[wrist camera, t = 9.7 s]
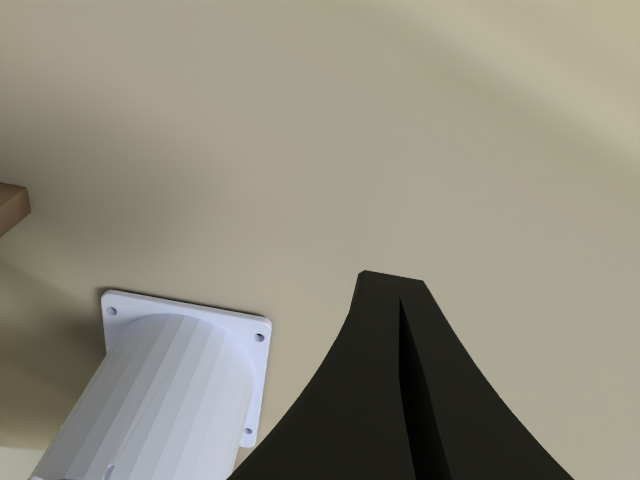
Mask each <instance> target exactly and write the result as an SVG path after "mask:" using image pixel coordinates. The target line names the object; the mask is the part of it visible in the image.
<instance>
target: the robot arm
mask: <svg viewBox="0 0 640 480" xmlns="http://www.w3.org/2000/svg"><path fill="white" fill-rule="evenodd" d="M101 307H102V317H103V326H104V335H105V345H106V354H107V355H106V356H105V358H104V359H103V361H102V362H101V364H100V366H99V367H98V369H97V370H96V372H95V374H94V375H93V377H92V378H91V380H90V382H89V383H88V385H87V386H86V388H85V389H84V391H83V393H82V394H81V396H80V397H79V399H78V401H77V402H76V404H75V405H74V407H73V409H72V410H71V412H70V413H69V415H68V417H67V418H66V420H65V421H64V423H63V424H62V426H61V428H60V429H59V431H58V432H57V434H56V436H55V437H54V439H53V440H52V442H51V444H50V445H49V447H48V448H47V450H46V451H45V453H44V455H43V456H42V458H41V460H40V461H39V463H38V464H37V466H36V467H35V469H34V471H33V472H32V474H31V475H30V477H29V479H28V480H574V479H573V478H572V477H571V476H570V475H569V474H568V473H567V472H566V471H565V470H564V469H563V468H562V467H561V466H560V465H559V464H558V463H557V462H556V461H555V460H554V459H553V458H552V456H551V455H550V454H549V453H548V452H547V451H546V450H545V449H544V448H543V447H542V446H541V445H540V444H539V443H538V441H537V440H536V439H535V438H534V437H533V436H532V435H531V433H530V432H529V431H528V430H527V429H526V428H525V427H524V425H523V424H522V423H521V422H520V421H519V420H518V419H517V417H516V416H515V415H514V414H513V413H512V412H511V410H510V409H509V408H508V407H507V405H506V404H505V403H504V402H503V400H502V399H501V398H500V397H499V395H498V394H497V393H496V391H495V390H494V389H493V387H492V386H491V385H490V383H489V382H488V381H487V379H486V378H485V377H484V375H483V374H482V373H481V371H480V370H479V368H478V367H477V366H476V364H475V363H474V361H473V360H472V358H471V357H470V355H469V354H468V352H467V351H466V349H465V348H464V346H463V345H462V343H461V342H460V340H459V339H458V337H457V336H456V334H455V332H454V331H453V329H452V328H451V326H450V324H449V323H448V321H447V319H446V318H445V316H444V315H443V313H442V311H441V309H440V308H439V306H438V304H437V303H436V301H435V299H434V298H433V296H432V294H431V293H430V291H429V289H428V288H427V286H426V284H425V283H424V281H422V280H417V279H411V278H406V277H400V276H395V275H389V274H384V273H378V272H373V271H367V270H364V271H363V272H361V273H359V274H358V278H357V282H356V286H355V290H354V294H353V298H352V302H351V306H350V310H349V313H348V315H347V318H346V320H345V322H344V324H343V326H342V328H341V330H340V332H339V334H338V336H337V338H336V340H335V341H334V343H333V345H332V347H331V348H330V350H329V352H328V354H327V355H326V357H325V359H324V360H323V362H322V364H321V365H320V367H319V368H318V370H317V371H316V373H315V374H314V376H313V377H312V379H311V380H310V382H309V383H308V385H307V386H306V387H305V389H304V390H303V392H302V393H301V394H300V396H299V397H298V398H297V400H296V401H295V402H294V404H293V405H292V406H291V407H290V409H289V410H288V411H287V412H286V414H285V415H284V416H283V417H282V419H281V420H280V421H279V422H278V424H277V425H276V426H275V427H274V428H273V430H272V431H271V432H270V433H269V434H268V435H267V437H266V438H265V439H264V440H263V441H262V442H261V443H260V444H259V445H258V446H257V447H256V448H255V450H254V451H253V452H252V453H251V454H250V455H249V456H248V457H247V458H246V459H245V460H244V461H243V462H242V463H241V465H240V466H239V467H238V468H237V469H236V470H235V471H234V472H233V473H232V471H233V467H234V463H235V460H236V456H237V452H238V448H239V446H241V447H248V448H249V447H253V446H254V445H255V443H256V438H257V431H258V424H259V417H260V410H261V402H262V395H263V388H264V381H265V373H266V366H267V359H268V352H269V345H270V337H271V330H272V323H271V322H270V320H268V319H267V318H264V317H260V316H255V315H249V314H244V313H238V312H233V311H227V310H222V309H216V308H211V307H205V306H200V305H194V304H188V303H183V302H177V301H172V300H166V299H161V298H155V297H150V296H144V295H139V294H133V293H128V292H122V291H117V290H108V291H106V292H105V293H104V294H103V296H102V297H101ZM111 307H113V308H115V309H116V310H115V309H113V308H111ZM257 334H262V335H263V336H259V335H257Z"/></svg>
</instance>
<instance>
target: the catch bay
mask: <svg viewBox="0 0 640 480" xmlns="http://www.w3.org/2000/svg"><path fill="white" fill-rule="evenodd" d="M30 213H31V211H30V205H29V200H28V194H27V189H26V188H25V187H19V186H14V185H8V184H3V183H0V237H2V236H3V235H4V234H5V233H6V232H8V231H9V230H10V229H11V228H13V227H14V226H15V225H16V224H17V223H19V222H20V221H21V220H22V219H23V218H25V217H26V216H27V215H28V214H30Z"/></svg>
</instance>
